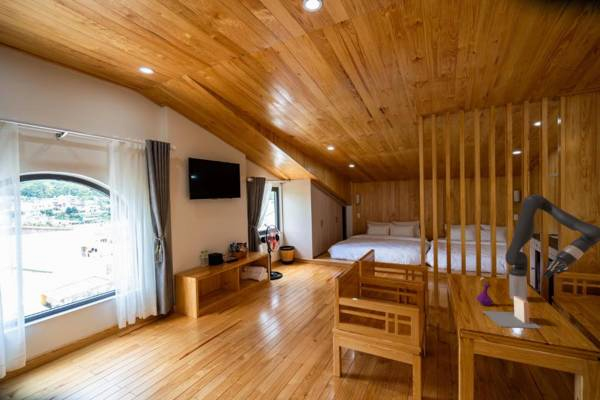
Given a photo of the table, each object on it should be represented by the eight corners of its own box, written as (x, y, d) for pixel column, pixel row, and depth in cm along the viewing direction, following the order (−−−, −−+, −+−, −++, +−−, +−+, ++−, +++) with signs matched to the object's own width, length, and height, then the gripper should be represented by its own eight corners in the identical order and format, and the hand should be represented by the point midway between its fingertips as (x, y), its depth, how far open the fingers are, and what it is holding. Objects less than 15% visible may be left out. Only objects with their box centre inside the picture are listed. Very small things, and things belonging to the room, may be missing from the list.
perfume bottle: (489, 302, 178) (487, 276, 178) (493, 307, 171) (492, 279, 171) (476, 301, 180) (475, 275, 180) (480, 306, 173) (479, 279, 173)
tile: (514, 316, 156) (513, 296, 157) (519, 316, 156) (518, 296, 156) (524, 323, 148) (523, 301, 148) (529, 323, 147) (528, 302, 147)
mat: (482, 311, 165) (482, 311, 165) (518, 313, 161) (518, 312, 161) (500, 326, 145) (500, 326, 145) (542, 329, 141) (542, 328, 141)
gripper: (554, 248, 154) (531, 268, 157) (574, 252, 141) (548, 275, 143) (565, 257, 153) (542, 277, 156) (586, 262, 140) (560, 284, 142)
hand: (545, 276), depth 149 cm, fingers closed
